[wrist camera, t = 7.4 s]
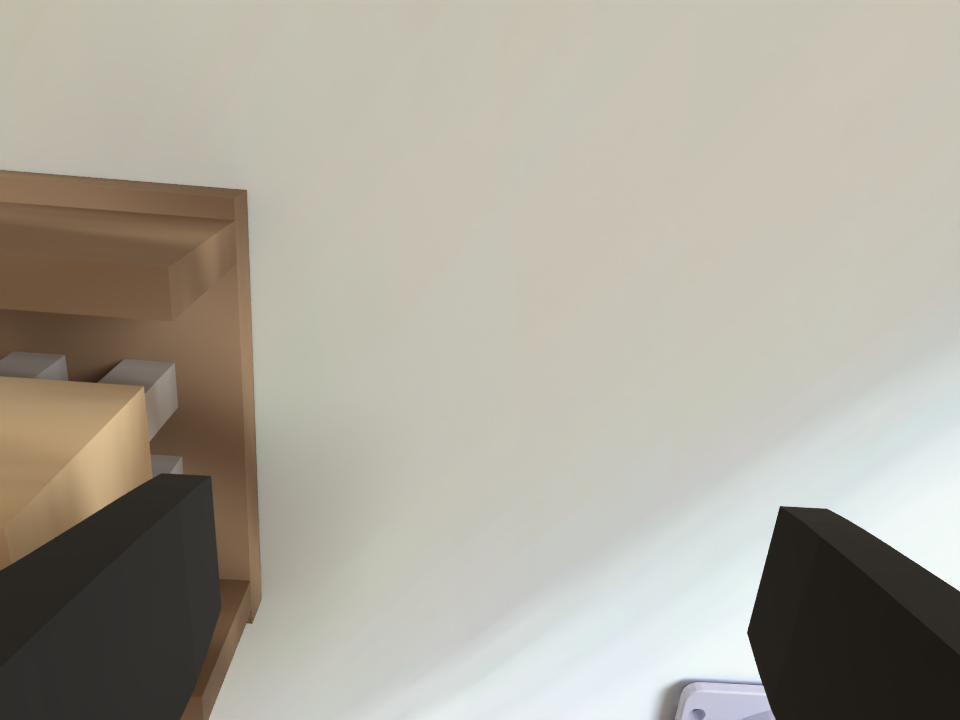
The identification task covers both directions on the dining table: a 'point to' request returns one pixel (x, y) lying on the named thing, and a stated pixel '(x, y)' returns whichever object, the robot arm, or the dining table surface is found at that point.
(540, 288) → the dining table surface
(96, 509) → the light wooden block
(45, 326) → the stand
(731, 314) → the dining table surface
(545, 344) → the dining table surface
